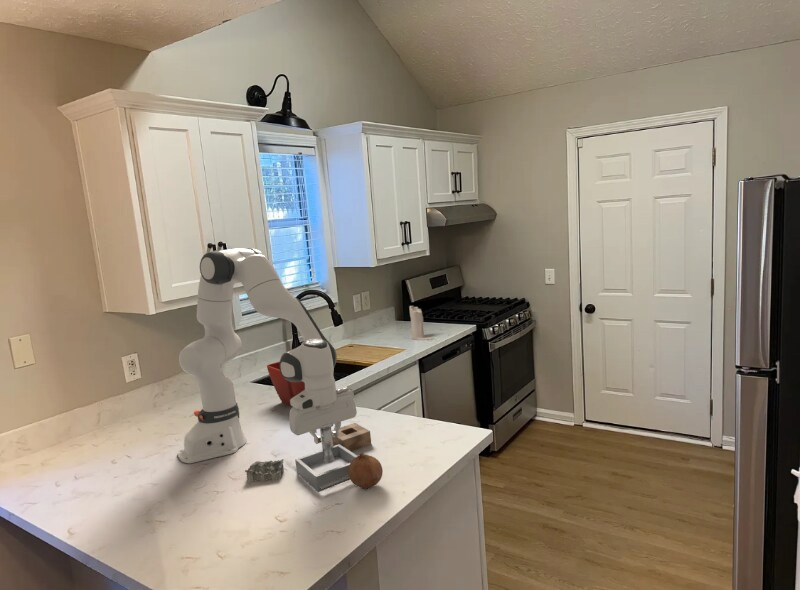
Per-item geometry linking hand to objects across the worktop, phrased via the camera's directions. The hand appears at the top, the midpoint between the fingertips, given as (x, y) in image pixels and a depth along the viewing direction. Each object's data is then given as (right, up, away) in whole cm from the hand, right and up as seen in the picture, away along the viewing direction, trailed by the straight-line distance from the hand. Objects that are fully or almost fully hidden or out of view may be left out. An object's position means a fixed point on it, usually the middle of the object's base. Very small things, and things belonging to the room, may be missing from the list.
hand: (326, 439), depth 159 cm
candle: (+35, +17, +162) cm, 166 cm away
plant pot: (-20, -3, +69) cm, 71 cm away
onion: (+13, -11, -9) cm, 19 cm away
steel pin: (+1, -7, +1) cm, 7 cm away
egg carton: (-19, -12, +4) cm, 23 cm away
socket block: (+6, -8, +18) cm, 20 cm away
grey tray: (+1, -11, +2) cm, 11 cm away
